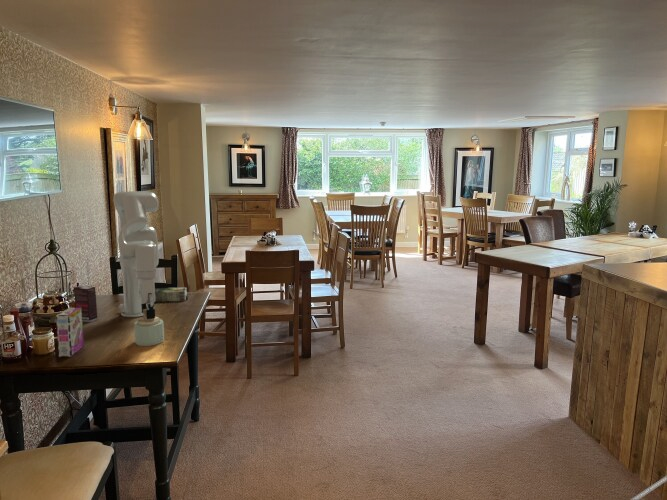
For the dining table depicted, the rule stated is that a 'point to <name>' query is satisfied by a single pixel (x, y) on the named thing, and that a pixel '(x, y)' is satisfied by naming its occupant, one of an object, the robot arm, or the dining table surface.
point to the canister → (149, 334)
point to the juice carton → (170, 294)
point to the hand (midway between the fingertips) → (148, 315)
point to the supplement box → (86, 302)
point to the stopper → (147, 320)
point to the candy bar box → (69, 332)
